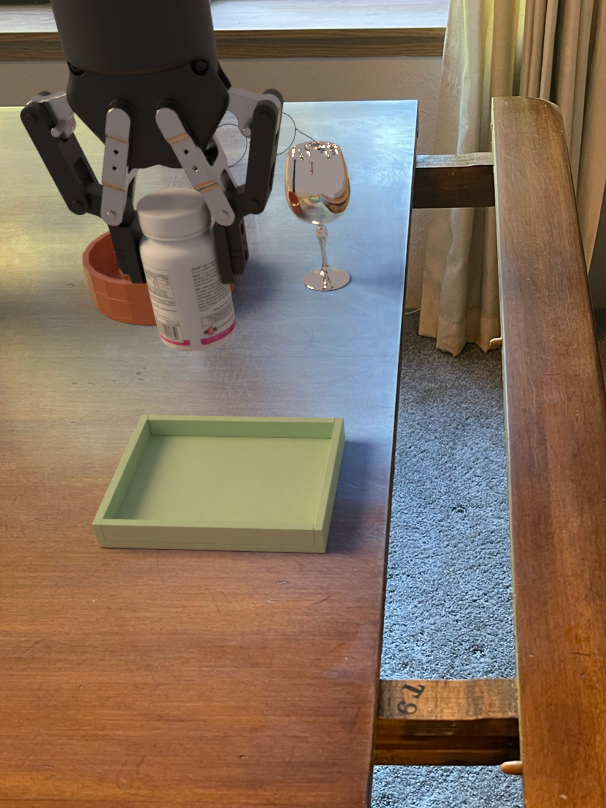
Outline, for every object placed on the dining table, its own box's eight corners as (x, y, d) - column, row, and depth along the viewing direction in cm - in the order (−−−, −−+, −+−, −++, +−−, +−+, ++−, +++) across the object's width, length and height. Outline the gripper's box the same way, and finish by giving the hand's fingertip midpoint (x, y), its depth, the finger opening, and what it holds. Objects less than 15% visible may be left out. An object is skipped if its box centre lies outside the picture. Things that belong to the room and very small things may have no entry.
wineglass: (358, 292, 88) (349, 162, 79) (295, 296, 87) (280, 166, 79) (355, 262, 92) (346, 136, 84) (295, 266, 92) (281, 140, 83)
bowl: (74, 324, 85) (62, 283, 82) (116, 255, 94) (106, 216, 92) (219, 325, 84) (212, 284, 81) (247, 256, 93) (241, 217, 91)
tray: (99, 547, 63) (91, 524, 62) (147, 436, 72) (141, 414, 71) (325, 553, 62) (322, 529, 61) (345, 440, 71) (343, 417, 70)
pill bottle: (235, 310, 61) (213, 180, 55) (239, 348, 58) (216, 215, 52) (160, 318, 60) (130, 188, 55) (159, 358, 57) (127, 224, 51)
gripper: (282, -73, 47) (314, 249, 59) (2, -68, 48) (88, 248, 60) (256, -36, 42) (297, 311, 53) (-60, -31, 42) (48, 309, 54)
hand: (186, 276), depth 56 cm, fingers closed on pill bottle, 4 cm apart
